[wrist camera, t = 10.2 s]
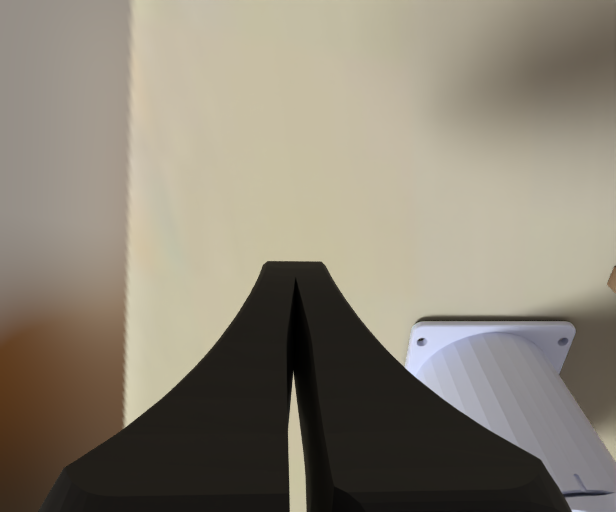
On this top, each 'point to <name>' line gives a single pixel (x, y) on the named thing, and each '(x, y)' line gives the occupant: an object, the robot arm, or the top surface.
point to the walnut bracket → (612, 280)
